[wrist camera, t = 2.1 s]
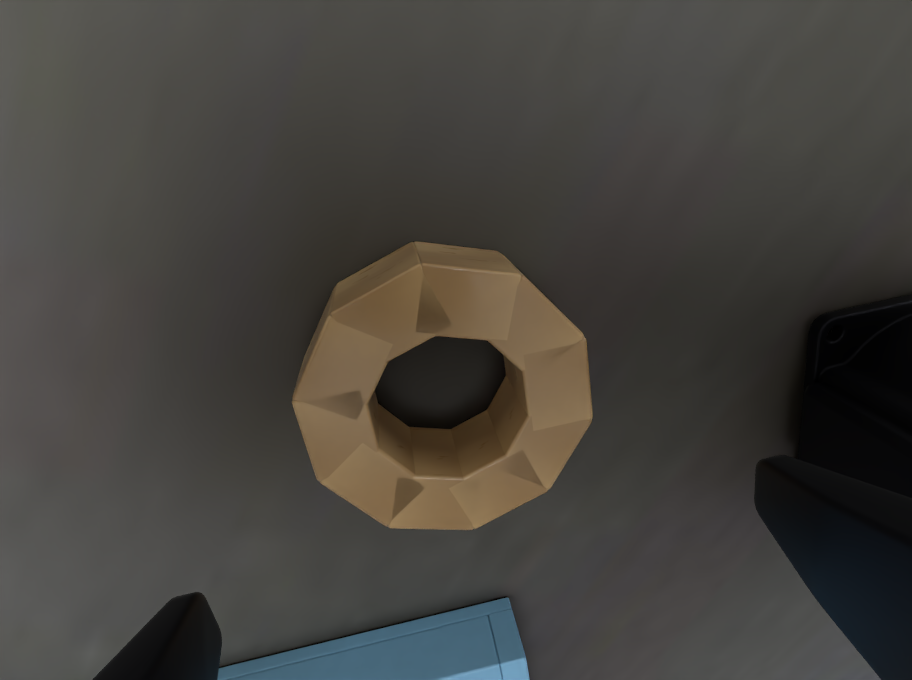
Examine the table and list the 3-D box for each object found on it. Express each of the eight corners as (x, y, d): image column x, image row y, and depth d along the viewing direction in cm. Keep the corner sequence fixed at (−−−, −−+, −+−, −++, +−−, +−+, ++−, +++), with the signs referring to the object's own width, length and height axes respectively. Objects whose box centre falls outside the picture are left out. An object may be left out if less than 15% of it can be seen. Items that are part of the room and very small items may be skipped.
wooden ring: (545, 214, 14) (578, 232, 12) (570, 450, 16) (600, 500, 14) (275, 267, 13) (256, 296, 11) (346, 501, 16) (342, 561, 14)
